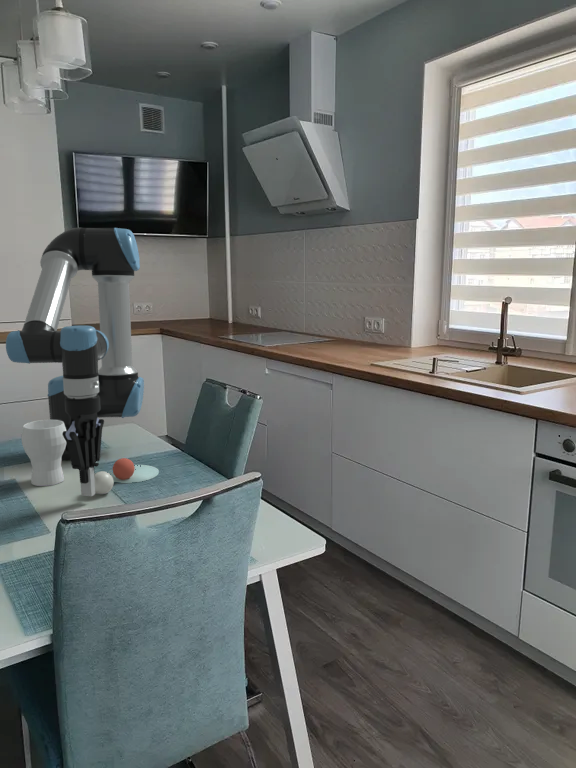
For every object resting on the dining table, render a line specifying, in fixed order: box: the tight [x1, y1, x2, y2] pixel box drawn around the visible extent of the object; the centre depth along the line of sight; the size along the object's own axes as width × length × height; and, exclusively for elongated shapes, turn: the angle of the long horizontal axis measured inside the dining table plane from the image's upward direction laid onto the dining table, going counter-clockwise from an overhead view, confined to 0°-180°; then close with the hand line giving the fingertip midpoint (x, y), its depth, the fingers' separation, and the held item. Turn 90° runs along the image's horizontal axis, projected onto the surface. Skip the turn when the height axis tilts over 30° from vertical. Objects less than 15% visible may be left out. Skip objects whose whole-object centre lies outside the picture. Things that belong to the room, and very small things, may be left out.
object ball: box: [112, 457, 135, 480], centre depth 150 cm, size 6×6×6 cm
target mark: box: [107, 464, 160, 484], centre depth 155 cm, size 14×14×1 cm
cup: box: [20, 419, 66, 487], centre depth 148 cm, size 11×11×15 cm
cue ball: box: [94, 470, 114, 495], centre depth 140 cm, size 6×6×6 cm
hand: (88, 494), depth 135 cm, fingers closed
